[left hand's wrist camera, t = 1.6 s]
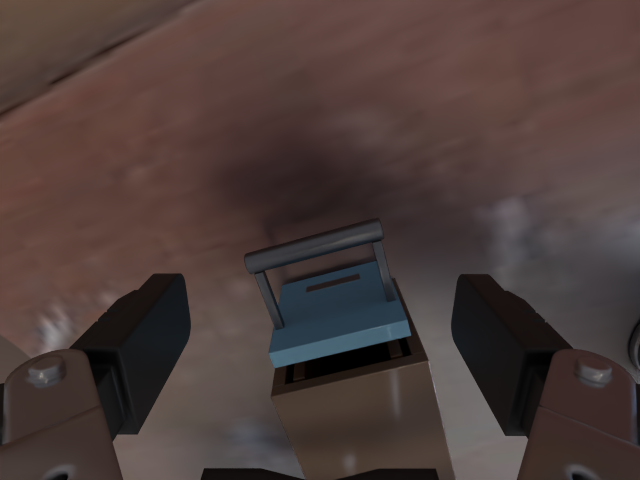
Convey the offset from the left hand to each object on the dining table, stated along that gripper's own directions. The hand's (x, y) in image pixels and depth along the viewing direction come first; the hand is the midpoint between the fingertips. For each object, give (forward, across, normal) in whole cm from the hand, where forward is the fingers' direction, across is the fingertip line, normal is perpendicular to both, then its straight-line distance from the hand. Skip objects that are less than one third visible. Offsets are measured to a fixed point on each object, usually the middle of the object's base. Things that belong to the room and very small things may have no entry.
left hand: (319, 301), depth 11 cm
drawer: (+19, -3, +14) cm, 24 cm away
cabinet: (+20, -4, +20) cm, 28 cm away
